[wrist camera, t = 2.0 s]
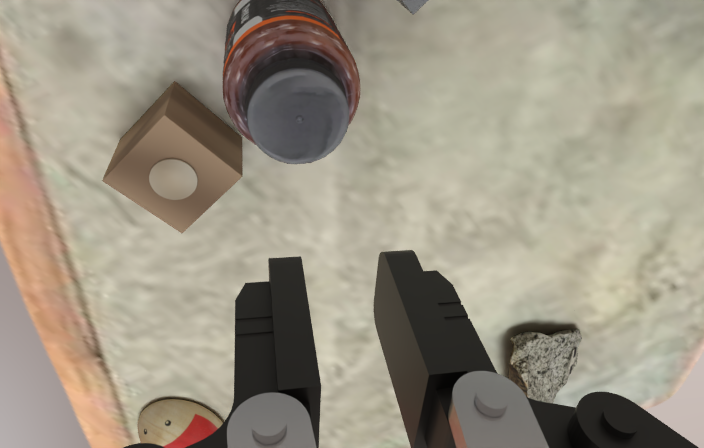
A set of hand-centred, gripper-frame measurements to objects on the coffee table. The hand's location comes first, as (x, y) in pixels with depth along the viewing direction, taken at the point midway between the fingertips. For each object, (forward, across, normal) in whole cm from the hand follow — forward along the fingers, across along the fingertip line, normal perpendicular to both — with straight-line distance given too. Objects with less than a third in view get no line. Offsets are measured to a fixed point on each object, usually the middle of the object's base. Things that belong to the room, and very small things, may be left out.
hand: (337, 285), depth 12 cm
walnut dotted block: (+21, +6, +6) cm, 23 cm away
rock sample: (+21, -23, +28) cm, 42 cm away
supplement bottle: (+21, 0, 0) cm, 21 cm away
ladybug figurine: (+22, +9, +34) cm, 41 cm away
